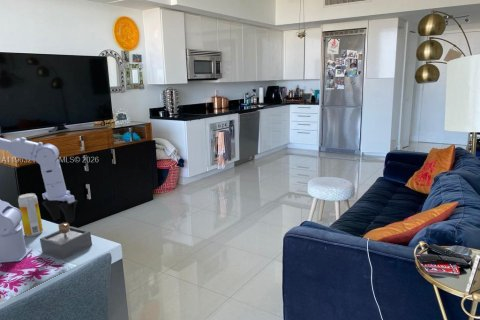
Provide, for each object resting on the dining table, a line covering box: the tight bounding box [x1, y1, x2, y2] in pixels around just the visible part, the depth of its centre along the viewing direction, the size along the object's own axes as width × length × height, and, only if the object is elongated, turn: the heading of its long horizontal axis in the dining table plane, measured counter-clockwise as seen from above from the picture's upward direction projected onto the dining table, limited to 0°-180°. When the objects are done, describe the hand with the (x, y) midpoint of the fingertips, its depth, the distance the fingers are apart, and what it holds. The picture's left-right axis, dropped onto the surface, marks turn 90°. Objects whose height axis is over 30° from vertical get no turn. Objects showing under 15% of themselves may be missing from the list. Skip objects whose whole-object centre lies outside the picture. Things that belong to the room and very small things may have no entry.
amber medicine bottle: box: [17, 192, 44, 237], centre depth 135 cm, size 6×6×15 cm
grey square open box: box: [39, 225, 93, 260], centre depth 123 cm, size 11×11×5 cm
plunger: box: [48, 222, 82, 243], centre depth 122 cm, size 8×8×5 cm
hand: (64, 220), depth 121 cm, fingers open, 7 cm apart
